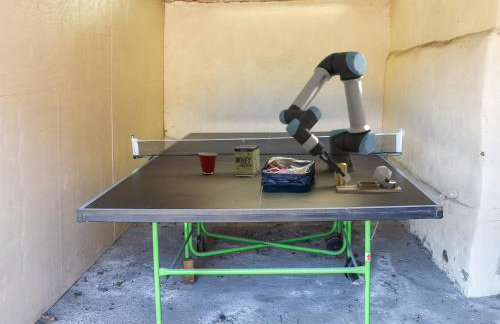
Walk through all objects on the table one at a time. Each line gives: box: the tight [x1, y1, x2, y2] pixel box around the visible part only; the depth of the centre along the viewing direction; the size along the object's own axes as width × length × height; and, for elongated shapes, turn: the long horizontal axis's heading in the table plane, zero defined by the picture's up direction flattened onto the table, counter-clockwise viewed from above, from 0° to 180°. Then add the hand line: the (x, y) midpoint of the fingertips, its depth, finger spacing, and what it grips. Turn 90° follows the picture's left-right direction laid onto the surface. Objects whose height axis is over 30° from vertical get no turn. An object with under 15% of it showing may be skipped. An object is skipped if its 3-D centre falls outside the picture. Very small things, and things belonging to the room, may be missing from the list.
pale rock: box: [372, 165, 393, 182], centre depth 262 cm, size 8×9×10 cm
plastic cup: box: [197, 152, 219, 173], centre depth 299 cm, size 11×11×12 cm
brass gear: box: [334, 163, 348, 187], centre depth 255 cm, size 6×6×11 cm
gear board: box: [335, 180, 403, 194], centre depth 246 cm, size 10×28×3 cm, turn 86°
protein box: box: [233, 144, 261, 176], centre depth 294 cm, size 10×16×16 cm
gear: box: [377, 177, 399, 189], centre depth 245 cm, size 9×9×4 cm
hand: (348, 179), depth 255 cm, fingers closed on brass gear, 6 cm apart
